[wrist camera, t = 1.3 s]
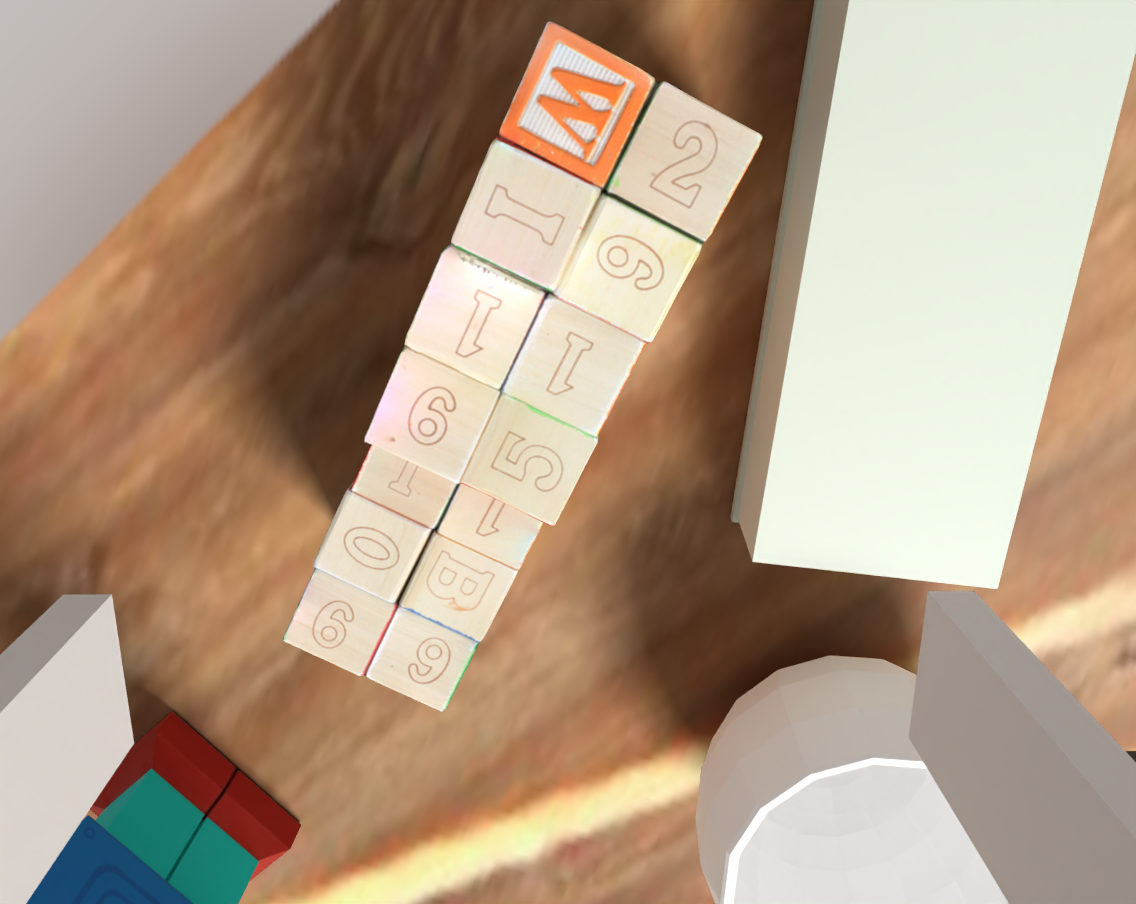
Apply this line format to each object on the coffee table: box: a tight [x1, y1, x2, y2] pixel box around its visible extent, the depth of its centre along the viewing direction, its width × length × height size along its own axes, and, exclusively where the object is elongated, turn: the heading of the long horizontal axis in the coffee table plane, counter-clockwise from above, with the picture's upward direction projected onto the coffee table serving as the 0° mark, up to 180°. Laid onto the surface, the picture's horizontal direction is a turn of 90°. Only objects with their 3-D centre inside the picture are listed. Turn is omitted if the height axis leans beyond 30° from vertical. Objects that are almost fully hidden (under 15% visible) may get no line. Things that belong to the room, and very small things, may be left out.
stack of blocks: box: [283, 21, 762, 711], centre depth 33 cm, size 21×6×12 cm, turn 153°
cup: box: [695, 655, 1009, 904], centre depth 39 cm, size 12×12×10 cm
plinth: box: [731, 0, 1136, 589], centre depth 35 cm, size 9×24×5 cm, turn 174°
